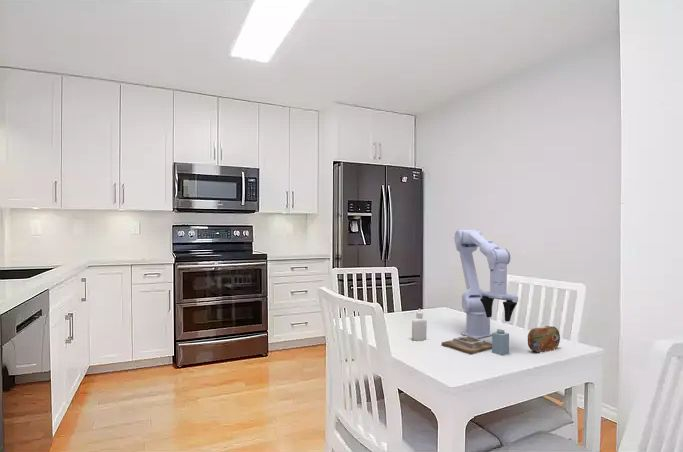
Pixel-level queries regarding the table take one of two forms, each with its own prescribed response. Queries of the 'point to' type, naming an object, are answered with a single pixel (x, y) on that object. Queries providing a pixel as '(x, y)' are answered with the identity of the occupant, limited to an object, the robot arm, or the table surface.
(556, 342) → the tin
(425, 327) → the eye dropper bottle
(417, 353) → the table surface
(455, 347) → the dock
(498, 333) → the peg
